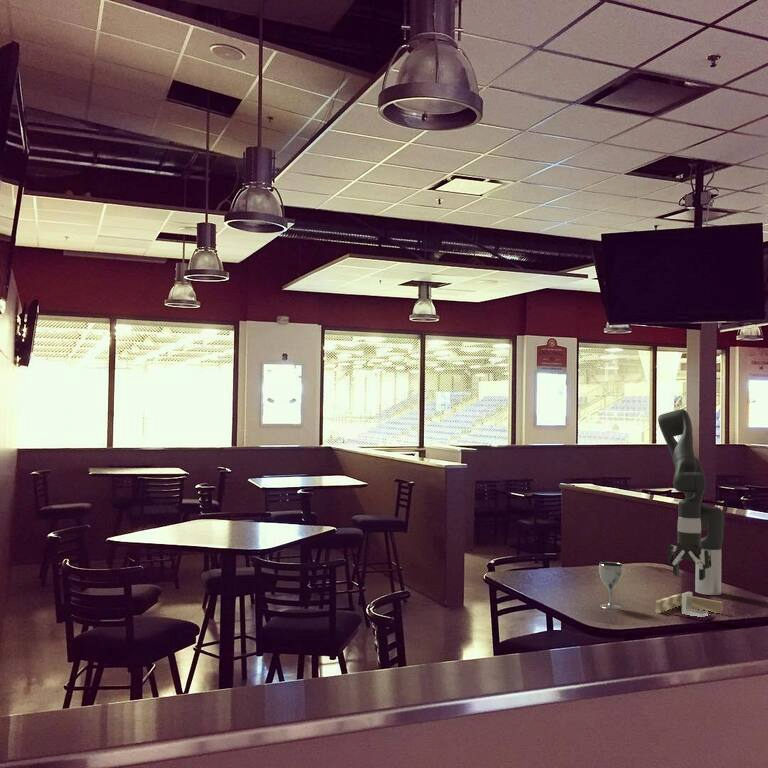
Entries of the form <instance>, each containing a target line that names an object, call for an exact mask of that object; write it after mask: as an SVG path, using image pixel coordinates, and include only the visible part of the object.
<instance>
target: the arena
mask: <svg viewBox="0 0 768 768" xmlns="http://www.w3.org/2000/svg"><path fill="white" fill-rule="evenodd" d="M678 606H680V607H681V606H682V593H676V594H673V595H670V596H667V597H664V598H661V599H658V600H655V611H654V612H656V613H655V614H659V613H660V614H662V613H661V612H663V613H665V612H664V611H666V612H668V611H667V610H669V609H671V610H673V609H672V608H674V609H676V608H675V607H677V608H679V607H678ZM723 606H724V603H723V601H718V600H714V599H709V598H704V597H700V596H699V597H698V596H693V595H692V608H693V609H699V610H705V611H711V612H714V613H713V614H716V613H720V614H719V615H722V614H721V613H724V612H723V609H724V607H723ZM669 611H670V610H669ZM711 612H710V613H711Z"/></svg>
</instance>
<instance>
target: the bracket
mask: <svg viewBox="0 0 768 768" xmlns="http://www.w3.org/2000/svg"><path fill="white" fill-rule="evenodd" d="M681 594H682V607H681V612H682V614H685V615H690V616H697V617H705V616H708V614H709V612H708V611H703V610H698V609H693V608H692V596H693V591H686V592H682V593H681Z"/></svg>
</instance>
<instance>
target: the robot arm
mask: <svg viewBox="0 0 768 768" xmlns="http://www.w3.org/2000/svg"><path fill="white" fill-rule="evenodd" d="M657 423H658V425H659V429H660V431H661V434H662V436H663V438H664V441H665V443H666V445H667V448H668V450H669V453H670V455H671V459H672V462H673V464H674V468H675V470H674V471H675V472H674V475H673V481H672V485H673V488H674V489H675V491H676V492H678V493H684V496H685V499H680V500H679V501H678V506H677V507H678V514H677V515H678V519H677V545H674V544H669V545H668V546H667V547H668V549H667V562H668V563H670V564H671V565H672V574H673V575H674V577H678V576H680V565H679V564H680V563H681V561H690V562H695V572H694V573H695V576H694V577H695V579H694V580H695V581H694V582H695V583H694V586H695V587H694V588H695V589H694V591H695V593H698V594H701V595H708V596H718V595H719V596H720V595H722V548H723V547H722V545H723V541H724V534H725V533H724V531H725V530H724V529H725V514H724V512H723V510H722V509H721V508H720V507H717V506H709V505H708V506H707V505H705V504H704V503H703V500H702V499H703V496H704V492H705V489H706V486H707V479H706V478H707V477H706V475H705V472H704V470H703V466H702V464H701V460H699V458H697V456H695V454H694V441H693V440H694V437H693V435H694V434H693V424H692V420H691V418H690V415H689V413H688V411H687V410H686V409H682V408H681V409H677V410H673V411H668V412H665V413H662V414H660V415H659V416H658V417H657ZM678 436H681V437H680V439H679V440H678V441H677V440H676V439H675V437H678ZM702 530H704V531H707V535H705V536H704V537H702ZM676 551H677V553H678V555H677V556H676V557H675V552H676Z"/></svg>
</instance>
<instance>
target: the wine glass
mask: <svg viewBox="0 0 768 768" xmlns="http://www.w3.org/2000/svg"><path fill="white" fill-rule="evenodd" d="M623 569H624V567H623V564H622V563H619V562H614V561H600V562H599V565H598V571H599V572H598V573H599V577H600V580H601V581H602V583H603V585H605V587H606V588H607V590H608V597H609V598H608V603H607V604H606V603H605V604H604V603H603V604H600V605H599V607H600V608H603V609H605V610H620V609H621V608H622V607H621V606H619V605H615V604H613V603H612V599H613V597H612V595H613V590H615V588H616V586H617V585H619V584H620V582H621V580H622V577H623Z"/></svg>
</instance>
